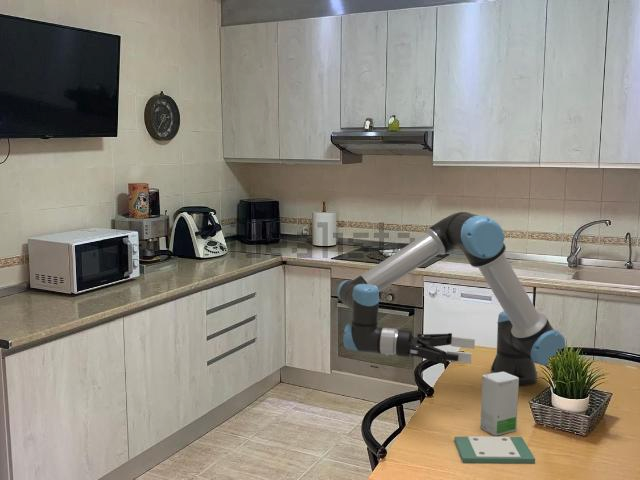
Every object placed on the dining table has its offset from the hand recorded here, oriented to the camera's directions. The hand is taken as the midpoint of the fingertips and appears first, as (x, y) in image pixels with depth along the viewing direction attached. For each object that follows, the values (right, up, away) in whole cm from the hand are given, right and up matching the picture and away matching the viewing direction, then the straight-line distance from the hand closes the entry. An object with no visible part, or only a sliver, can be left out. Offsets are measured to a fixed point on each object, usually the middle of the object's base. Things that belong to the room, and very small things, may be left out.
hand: (473, 350), depth 181 cm
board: (+2, -24, -12) cm, 27 cm away
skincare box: (+7, -22, +1) cm, 24 cm away
